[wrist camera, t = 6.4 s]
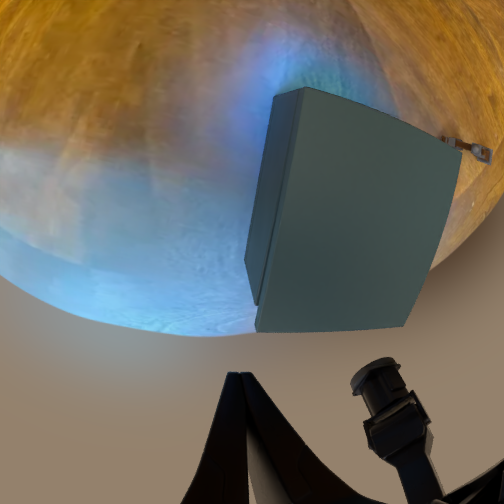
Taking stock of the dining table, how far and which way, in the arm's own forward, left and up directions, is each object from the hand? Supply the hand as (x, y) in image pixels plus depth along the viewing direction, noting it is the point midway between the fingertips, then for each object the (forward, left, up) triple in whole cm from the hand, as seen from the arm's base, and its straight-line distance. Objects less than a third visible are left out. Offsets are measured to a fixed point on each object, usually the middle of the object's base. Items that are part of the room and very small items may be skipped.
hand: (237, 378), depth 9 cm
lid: (+4, -8, -7) cm, 11 cm away
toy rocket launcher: (+12, -22, -13) cm, 28 cm away
